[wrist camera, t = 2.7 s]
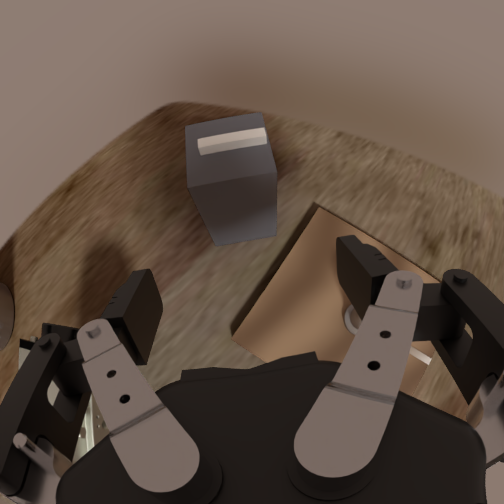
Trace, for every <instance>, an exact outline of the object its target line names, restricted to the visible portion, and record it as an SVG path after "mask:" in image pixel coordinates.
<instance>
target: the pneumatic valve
mask: <svg viewBox="0 0 504 504" xmlns="http://www.w3.org/2000/svg"><path fill="white" fill-rule="evenodd" d="M79 330H80V329H78V328H72V327H67V326H61V325H56V324H50V323H43V324H42V334H41V337H43V336H45V335H47V334H50V333H57V334H58V335H59V336H60V338H61V340H62V341H63V343H64V342H68V341H71V340H74V339H77V333H78V331H79ZM37 340H38V337H34V336H31V340H24V339H20V346H19V369H20V367H21V366H22V364H23V362H24V360H25V359H26V357H27V355H28V354H29V352H30V350H31V349H32V347H33V345H34V344H35V343H36V341H37ZM58 392H59V389H58V387H57V386H56V385H55V383H54V382H53V381H52V382H51V384H50V386H49V388H48V392H47V396H48V400H49V402H50V403H51V405H52V406H53V404H54V402H55V399H56V397H57V394H58ZM109 433H110V432H109V429H108V427H107V425H106V423H105V421H104V419H103V416H102V414H101V412H100V410H99V407H98V405H97V403H96V400H95V398H94V395H93V393H92V394H91V397H90V401H89V404H88V407H87V410H86V413H85V417H84V420H83V424H82V427H81V430H80V434H79V438H78V441H77V445H76V449H75V453H74V457H73V461H72V465H73V464H74V463H75V462H77V461H78V460H79V459H80V458H81V457H82V456H84V455H85V454H86V453H87V452H88V451H89V450H91V449H92V448H93V447H94V446H95V445H96V444H97V443H99V442H100V441H101V440H102V439H103V438H104V437H105V436H106V435H108V434H109Z"/></svg>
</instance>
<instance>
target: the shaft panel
mask: <svg viewBox="0 0 504 504" xmlns="http://www.w3.org/2000/svg"><path fill="white" fill-rule="evenodd" d="M347 235H355V236H356V237H357V238H358V239H359V240H360V241H361V242H362V243H363V244H366V243H367V244H369V245H372V246H374V247H376V248H377V249H378V250H379V251H380V252H381V253H382V254H383V255H384V256H385V257H386V258H387V259H388V260H389V261H390V262H391V263H392V264H393V265H394V266H395V267H396V268H397V269H398V270H399V271H400V270H404V271H411V272H414V273H416V274H418V275H419V276H420V277H421V278H422V279H423V283H440V282H439V281H437V280H436V279H434V278H433V277H432V276H430V275H429V274H427V273H426V272H424V271H423V270H421V269H420V268H418V267H417V266H415V265H414V264H412V263H411V262H409V261H408V260H406V259H404V258H403V257H401V256H400V255H398V254H397V253H395V252H394V251H392V250H390V249H389V248H387V247H386V246H384V245H382V244H381V243H379V242H378V241H376V240H374V239H373V238H371V237H370V236H368V235H366V234H365V233H363V232H361V231H360V230H358V229H356V228H355V227H353V226H351V225H350V224H348V223H346V222H344V221H343V220H341V219H339V218H338V217H336V216H334V215H332V214H331V213H329V212H327V211H325V210H324V209H322V208H320V207H319V208H318V210H317V211H316V213H315V214H314V216H313V217H312V219H311V220H310V222H309V224H308V225H307V227H306V228H305V230H304V231H303V233H302V234H301V236H300V237H299V239H298V240H297V242H296V244H295V245H294V247H293V248H292V250H291V251H290V253H289V254H288V256H287V257H286V259H285V260H284V262H283V263H282V265H281V266H280V268H279V269H278V271H277V272H276V274H275V275H274V277H273V278H272V280H271V281H270V283H269V284H268V286H267V287H266V289H265V290H264V292H263V293H262V295H261V296H260V297H259V299H258V300H257V302H256V303H255V305H254V306H253V308H252V309H251V311H250V312H249V314H248V315H247V316H246V318H245V319H244V321H243V322H242V324H241V325H240V327H239V328H238V329H237V331H236V332H235V334H234V335H233V337H232V338H231V340H233V341H234V342H236V343H237V344H239V345H240V346H242V347H243V348H245V349H246V350H248V351H249V352H251V353H252V354H254V355H255V356H257V357H258V358H260V359H262V360H263V361H265V362H266V363H268V362H271V361H274V360H276V359H279V358H282V357H287V356H292V355H298V354H303V353H308V352H313V351H315V352H316V355H317V358H318V360H326V361H335V362H340V363H342V362H343V360H344V358H345V356H346V354H347V352H348V350H349V348H350V346H351V344H352V342H353V340H354V338H355V335H356V333H357V331H358V329H359V327H360V325H361V323H362V321H361V319H360V317H359V316H358V314H357V312H356V310H355V309H354V307H353V305H352V304H351V302H350V300H349V299H348V297H347V295H346V293H345V292H344V290H343V288H342V287H341V285H340V283H339V280H338V276H337V261H336V239H337V237H341V236H347ZM434 351H435V348H434V346H433V344H432V343H431V341H416V342H412V344H411V348H410V352H409V356H408V360H407V364H406V368H405V371H404V375H403V378H402V381H401V385H400V388H399V390H400V391H402V392H404V393H406V394H408V395H410V396H412V395H413V393H414V391H415V390H416V388H417V386H418V384H419V382H420V380H421V378H422V376H423V374H424V372H425V370H426V368H427V366H428V365H429V363H430V361H431V358H432V356H433V354H434Z"/></svg>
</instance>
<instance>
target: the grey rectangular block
mask: <svg viewBox="0 0 504 504" xmlns="http://www.w3.org/2000/svg"><path fill="white" fill-rule="evenodd" d="M185 141H186V169H187V188H188V190H189V192H190V194H191V196H192V199H193V201H194V203H195V205H196V207H197V209H198V211H199V213H200V215H201V217H202V219H203V221H204V223H205V225H206V227H207V229H208V231H209V233H210V235H211V237H212V239H213V241H214V243H215V245H216V246H220V245H226V244H232V243H238V242H243V241H249V240H255V239H261V238H267V237H273V236H276V226H277V169H276V165H275V161H274V158H273V154H272V150H271V146H270V142H269V138H268V135H267V131H266V127H265V124H264V120H263V116H262V113H261V112H259V113H252V114H246V115H240V116H234V117H228V118H222V119H217V120H212V121H207V122H202V123H197V124H192V125H188V126H185Z"/></svg>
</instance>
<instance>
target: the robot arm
mask: <svg viewBox="0 0 504 504" xmlns="http://www.w3.org/2000/svg"><path fill="white" fill-rule="evenodd" d="M336 261H337V276H338V280H339V283H340V285H341V287H342V288H343V290H344V292H345V293H346V295H347V297H348V299H349V300H350V302H351V304H352V305H353V307H354V309H355V310H356V312H357V314H358V316H359V317H360V319H361V321H362V323H361V325H360V327H359V329H358V331H357V333H356V335H355V338H354V340H353V342H352V344H351V346H350V348H349V350H348V352H347V354H346V356H345V358H344V360H343V362H342V363H340V362H335V361H326V360H318V358H317V355H316V352H315V351H313V352H308V353H303V354H298V355H292V356H287V357H282V358H279V359H276V360H274V361H271V362H268V363H265V364H262V365H260V366H257V367H254V368H251V369H231V368H217V367H210V368H201V369H190V370H182V374H181V380H179V381H175V382H173V383H170V384H168V385H166V386H164V387H162V388H161V389H159V390H157V391H156V392H154V391H153V390H152V388H151V387H150V385H149V384H148V382H147V381H146V380H145V378H144V377H143V375H142V374H141V372H140V371H139V369H138V368H137V366H136V365H147V361H148V358H149V355H150V351H151V348H152V345H153V341H154V338H155V335H156V332H157V328H158V325H159V322H160V319H161V316H162V312H163V304H162V300H161V297H160V294H159V291H158V288H157V285H156V283H155V280H154V277H153V274H152V272H151V270H150V269H143V270H138V271H133V272H132V273H131V275H130V277H129V278H128V280H127V282H126V283H125V284H123V285H122V286H121V287H120V288H118V289H117V290H116V292H115V293H114V295H113V297H112V299H111V300H110V302H109V304H108V305H107V307H106V309H105V310H104V312H103V314H102V316H101V317H100V319H96V320H93V321H90V322H88V323H86V324H85V325H84V326H82V327H81V328H80V330H79V331H78V333H77V339H74V340H71V341H68V342H64V343H63V341H62V340H61V338H60V336H59V335H58V334H57V333H50V334H47V335H45V336H43V337H41V338H40V339H39V340H37V341H36V343H35V344H34V345H33V347H32V349H31V350H30V352H29V354H28V355H27V357H26V359H25V360H24V362H23V364H22V366H21V367H20V369H19V371H18V373H17V374H16V376H15V378H14V380H13V382H12V384H11V386H10V387H9V389H8V391H7V393H6V395H5V397H4V399H3V401H2V403H1V405H0V493H1V494H2V495H4V496H5V497H7V498H8V499H10V500H11V501H13V502H15V503H16V504H487V499H486V489H485V474H486V469H488V468H489V467H491V466H493V465H494V464H496V463H497V462H499V461H500V462H504V304H503V303H502V302H501V301H500V300H499V299H498V298H497V297H496V296H495V295H494V294H493V293H492V292H491V291H490V290H489V289H488V288H487V287H486V286H485V285H484V284H482V283H481V282H480V281H479V280H478V279H477V278H476V277H475V276H474V275H473V274H471V273H470V272H467V271H465V270H461V269H451V270H448V271H446V272H445V273H444V274H443V278H442V283H423V279H422V278H421V277H420V276H419V275H418V274H416V273H414V272H411V271H404V270H400V271H399V270H398V269H397V268H396V267H395V266H394V265H393V264H392V263H391V262H390V261H389V260H388V259H387V258H386V257H385V256H384V255H383V254H382V253H381V252H380V251H379V250H378V249H377V248H376V247H374V246H372V245H369V244H367V243H366V244H363V243H362V242H361V241H360V240H359V239H358V238H357V237H356V236H355V235H347V236H341V237H337V239H336ZM13 322H14V304H13V299H12V295H11V293H10V290H9V289H8V287H7V286H6V285H5V284H3V283H1V282H0V350H1V349H3V348H4V347H5V346H6V344H7V343H8V341H9V338H10V336H11V333H12V329H13ZM466 323H467V324H468V325H469V326H470V328H471V330H472V333H473V339H472V338H471V337H470V335H469V334H468V333H467V331H466V330H465V329H464V328H465V325H466ZM416 341H431V343H432V344H433V346H434V348H435V349H436V351H437V352H438V354H439V356H440V357H441V359H442V360H443V362H444V364H445V365H446V367H447V369H448V370H449V372H450V374H451V375H452V377H453V379H454V380H455V382H456V384H457V386H458V387H459V389H460V391H461V393H462V394H463V396H464V398H465V400H466V402H467V404H468V405H469V406H468V408H467V411H466V420H467V422H465V421H463V420H462V419H460V418H457V417H455V416H453V415H451V414H448V413H446V412H444V411H442V410H440V409H437V408H435V407H433V406H431V405H429V404H427V403H425V402H422V401H420V400H418V399H416V398H414V397H412V396H410V395H408V394H406V393H404V392H402V391H400V390H399V388H400V385H401V381H402V378H403V375H404V371H405V368H406V364H407V360H408V356H409V352H410V348H411V344H412V342H416ZM52 381H53V382H54V383H55V385H56V386H57V387H58V389H59V392H58V394H57V397H56V399H55V402H54V404H53V406H52V405H51V403H50V402H49V400H48V396H47V392H48V388H49V386H50V384H51V382H52ZM92 393H93V395H94V398H95V400H96V403H97V405H98V407H99V410H100V412H101V414H102V416H103V419H104V421H105V423H106V425H107V427H108V429H109V432H110V433H109V434H108V435H106V436H105V437H104V438H103V439H102V440H101V441H100V442H99V443H97V444H96V445H95V446H94V447H93V448H92V449H91V450H89V451H88V452H87V453H86V454H85V455H84V456H82V457H81V458H80V459H79V460H78V461H77V462H75V463H74V464H73V465H72V461H73V457H74V453H75V449H76V445H77V441H78V438H79V434H80V430H81V427H82V424H83V420H84V417H85V413H86V410H87V407H88V404H89V401H90V397H91V394H92Z"/></svg>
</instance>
